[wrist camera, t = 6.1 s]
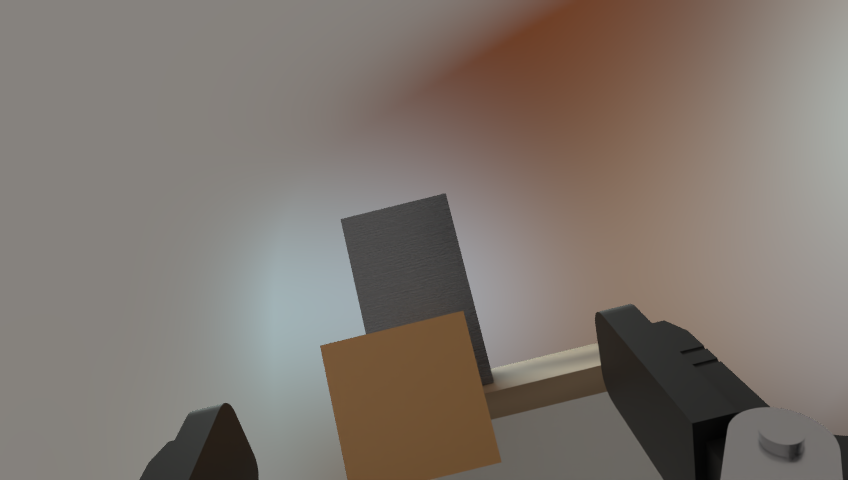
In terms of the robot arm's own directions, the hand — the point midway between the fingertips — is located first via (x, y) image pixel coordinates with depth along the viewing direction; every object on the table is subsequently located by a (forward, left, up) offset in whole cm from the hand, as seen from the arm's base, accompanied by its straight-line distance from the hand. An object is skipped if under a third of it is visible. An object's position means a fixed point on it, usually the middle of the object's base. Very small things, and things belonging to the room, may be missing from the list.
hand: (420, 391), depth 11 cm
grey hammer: (+2, -4, -1) cm, 5 cm away
